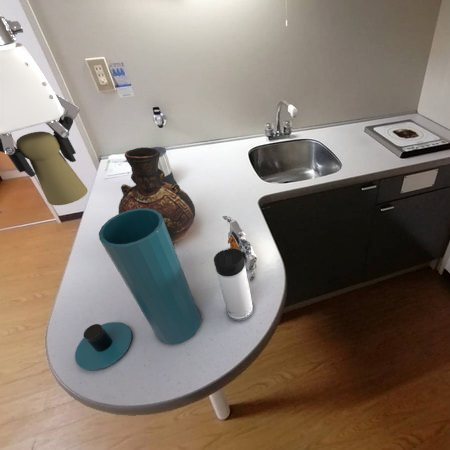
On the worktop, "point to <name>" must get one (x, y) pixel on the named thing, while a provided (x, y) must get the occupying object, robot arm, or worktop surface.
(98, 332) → the lid
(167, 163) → the milk frother
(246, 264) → the meal
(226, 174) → the worktop surface
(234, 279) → the travel mug
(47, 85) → the robot arm
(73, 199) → the cork
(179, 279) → the teal faceted tube
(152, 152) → the ceramic vessel
